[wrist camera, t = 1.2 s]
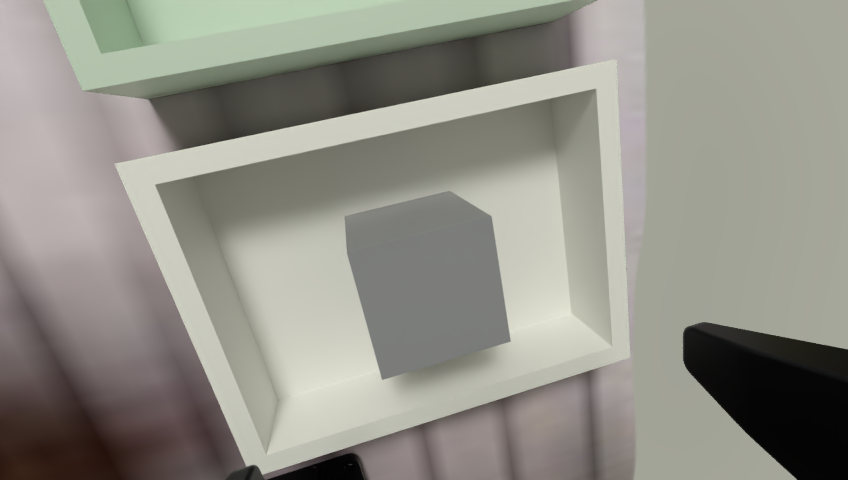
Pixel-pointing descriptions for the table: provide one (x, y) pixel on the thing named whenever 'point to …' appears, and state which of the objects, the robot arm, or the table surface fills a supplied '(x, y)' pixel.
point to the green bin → (261, 36)
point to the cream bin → (331, 272)
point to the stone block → (427, 281)
